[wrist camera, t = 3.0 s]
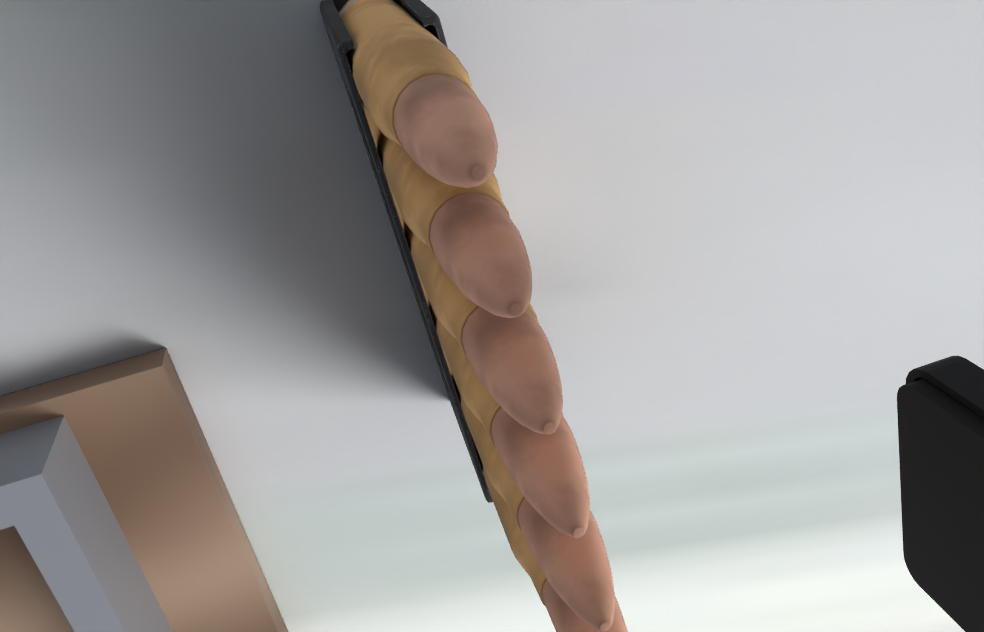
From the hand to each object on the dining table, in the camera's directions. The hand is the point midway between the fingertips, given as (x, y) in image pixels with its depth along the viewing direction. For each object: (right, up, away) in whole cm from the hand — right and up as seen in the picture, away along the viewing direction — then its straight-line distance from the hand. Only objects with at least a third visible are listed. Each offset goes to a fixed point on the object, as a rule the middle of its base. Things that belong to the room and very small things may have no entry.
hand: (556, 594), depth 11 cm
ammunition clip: (-2, +6, +12) cm, 14 cm away
